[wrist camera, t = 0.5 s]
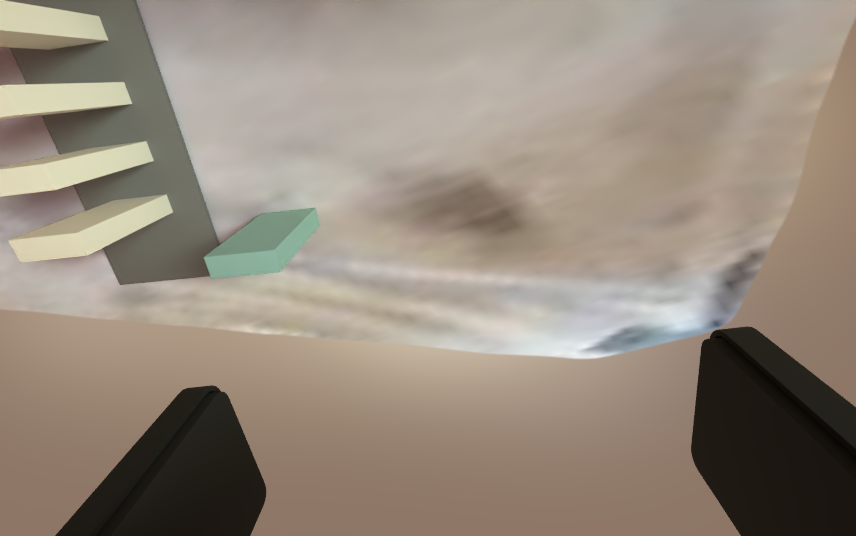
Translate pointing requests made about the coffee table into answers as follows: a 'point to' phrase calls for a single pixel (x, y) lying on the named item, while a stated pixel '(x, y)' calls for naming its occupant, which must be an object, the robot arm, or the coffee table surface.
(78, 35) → the domino
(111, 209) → the domino
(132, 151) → the domino
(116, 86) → the domino
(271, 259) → the teal domino
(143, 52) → the domino mat
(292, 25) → the coffee table surface
